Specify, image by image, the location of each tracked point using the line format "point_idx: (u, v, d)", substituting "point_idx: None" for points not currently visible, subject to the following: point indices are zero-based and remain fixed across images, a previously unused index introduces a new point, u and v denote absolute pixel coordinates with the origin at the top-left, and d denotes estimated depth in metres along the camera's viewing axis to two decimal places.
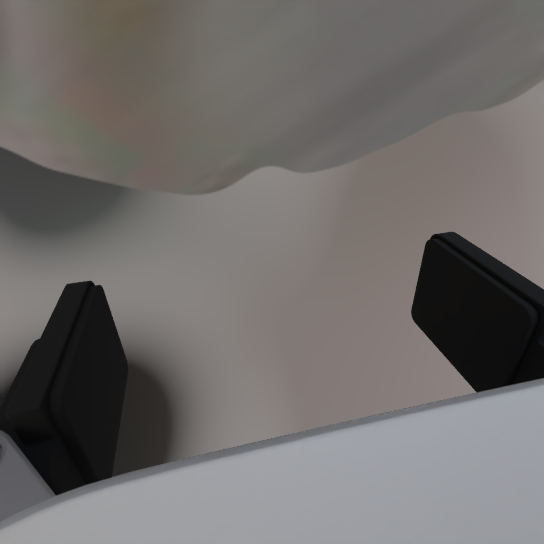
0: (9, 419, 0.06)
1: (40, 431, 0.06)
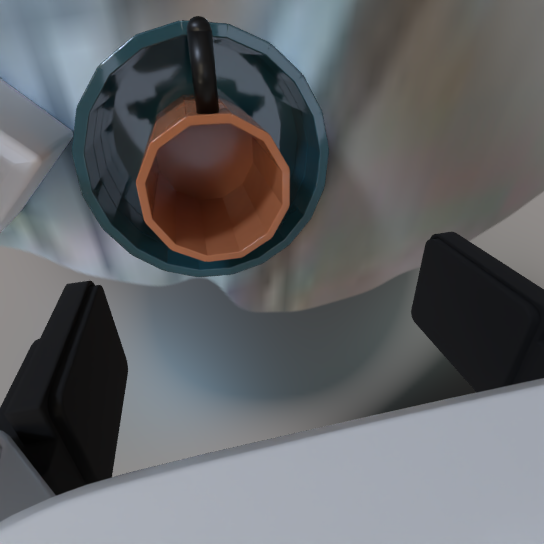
0: (9, 419, 0.06)
1: (40, 431, 0.06)
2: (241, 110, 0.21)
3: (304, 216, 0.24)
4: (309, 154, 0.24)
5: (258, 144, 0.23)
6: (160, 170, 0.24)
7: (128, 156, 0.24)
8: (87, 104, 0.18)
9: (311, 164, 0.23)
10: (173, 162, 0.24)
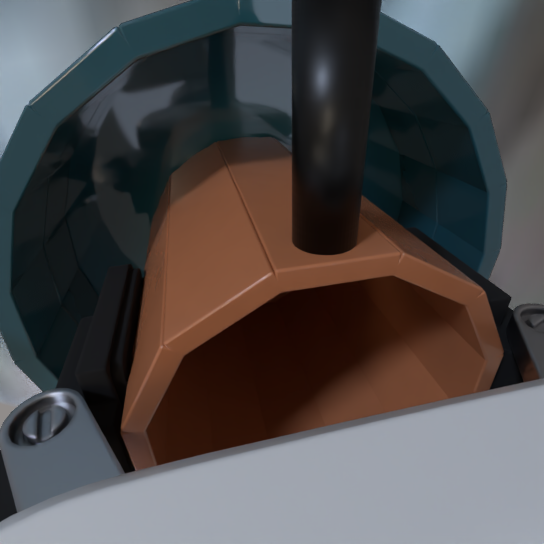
0: (78, 379, 0.06)
1: (103, 391, 0.06)
2: None
3: None
4: (442, 243, 0.13)
5: None
6: None
7: (117, 246, 0.14)
8: (7, 193, 0.07)
9: None
10: None
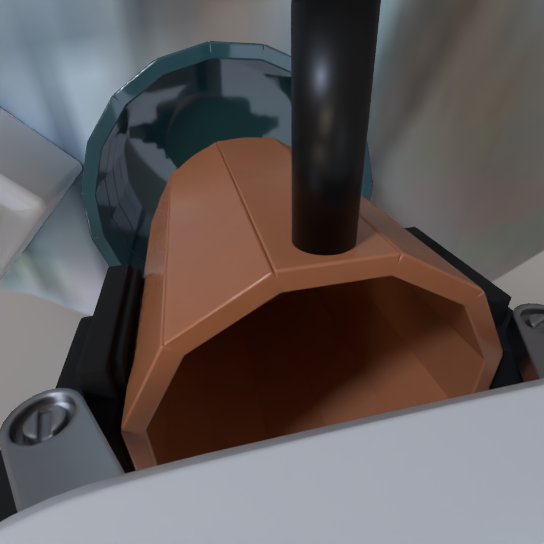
0: (78, 379, 0.06)
1: (103, 391, 0.06)
2: None
3: None
4: None
5: None
6: None
7: (143, 190, 0.21)
8: (99, 139, 0.15)
9: None
10: None
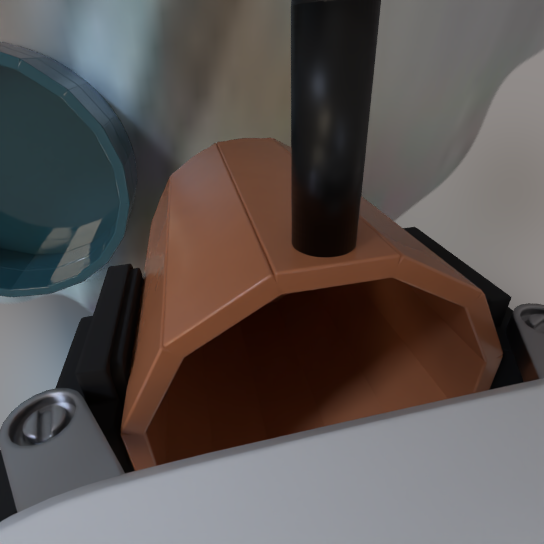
0: (78, 379, 0.06)
1: (103, 391, 0.06)
2: None
3: (115, 233, 0.23)
4: None
5: None
6: None
7: None
8: None
9: None
10: None
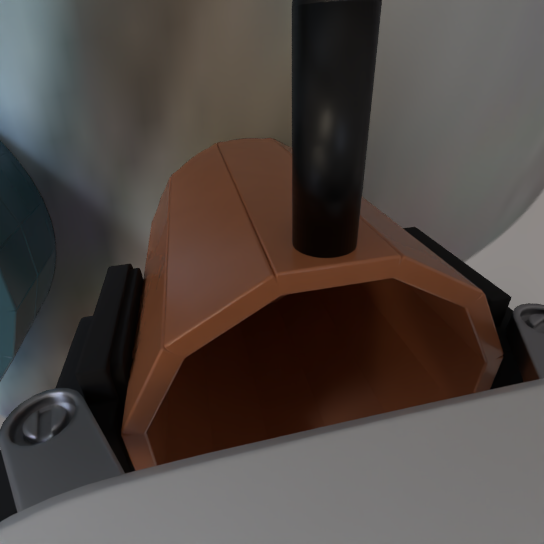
0: (78, 379, 0.06)
1: (103, 391, 0.06)
2: None
3: None
4: None
5: None
6: None
7: None
8: None
9: None
10: None
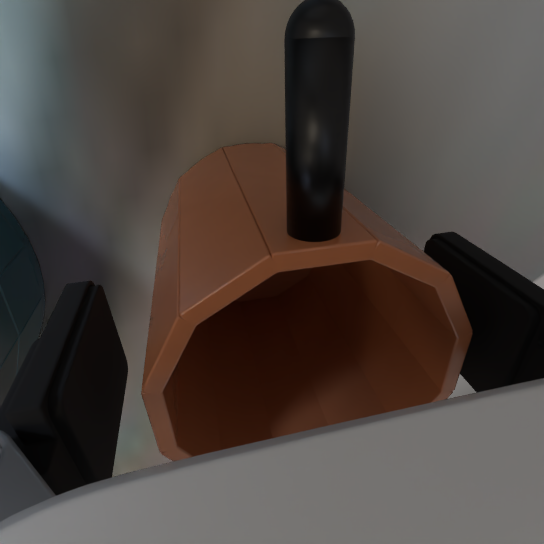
0: (9, 419, 0.06)
1: (40, 431, 0.06)
2: None
3: None
4: None
5: None
6: None
7: None
8: None
9: None
10: None
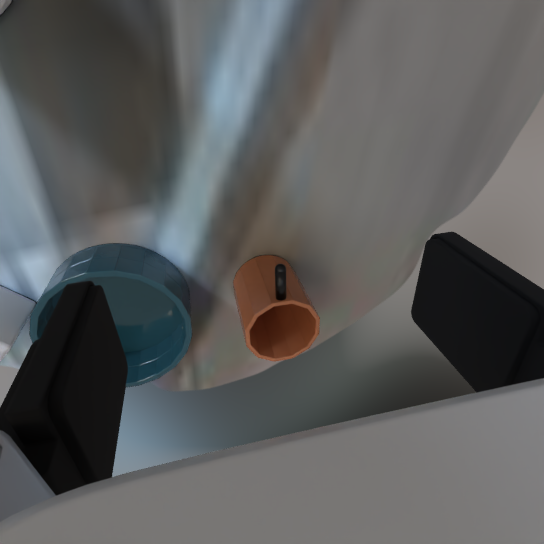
0: (9, 419, 0.06)
1: (40, 431, 0.06)
2: (289, 270, 0.39)
3: (181, 351, 0.37)
4: None
5: None
6: None
7: None
8: (36, 313, 0.32)
9: None
10: None
